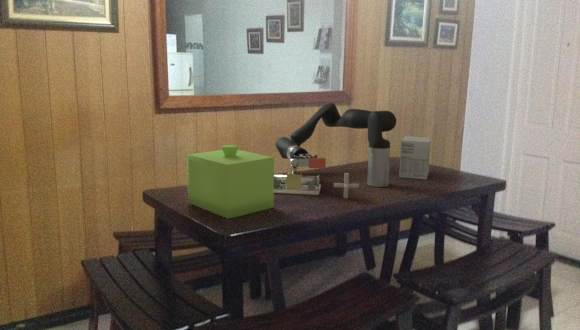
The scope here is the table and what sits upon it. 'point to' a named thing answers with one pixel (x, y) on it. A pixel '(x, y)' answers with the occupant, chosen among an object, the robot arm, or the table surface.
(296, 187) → the valve fixture
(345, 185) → the pipe connector
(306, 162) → the valve lever
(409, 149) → the supplement box
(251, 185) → the canister
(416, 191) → the table surface
